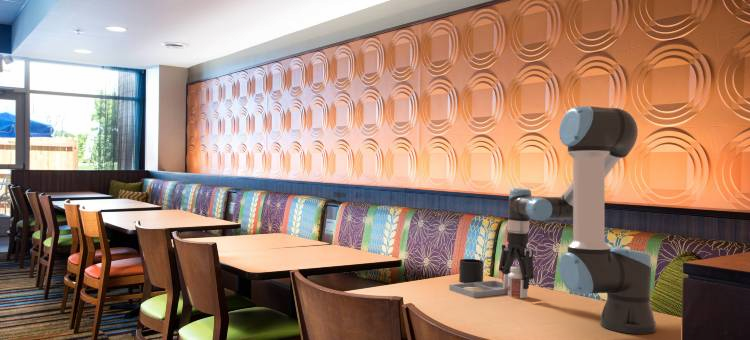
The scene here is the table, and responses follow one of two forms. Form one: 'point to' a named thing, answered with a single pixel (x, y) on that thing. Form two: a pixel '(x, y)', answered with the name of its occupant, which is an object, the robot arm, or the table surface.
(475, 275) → the mug
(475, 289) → the coaster
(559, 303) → the table surface
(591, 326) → the table surface
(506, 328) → the table surface
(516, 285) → the pill bottle
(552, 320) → the table surface
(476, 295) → the caddy
